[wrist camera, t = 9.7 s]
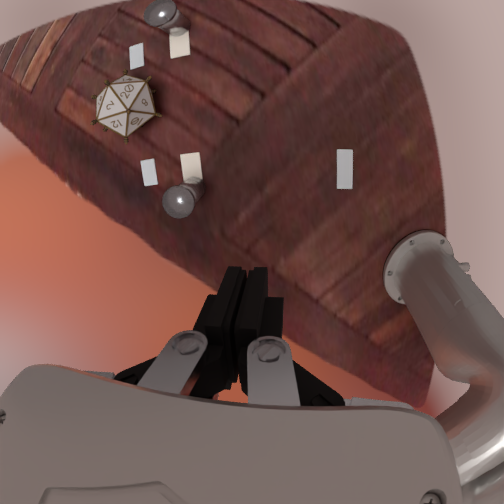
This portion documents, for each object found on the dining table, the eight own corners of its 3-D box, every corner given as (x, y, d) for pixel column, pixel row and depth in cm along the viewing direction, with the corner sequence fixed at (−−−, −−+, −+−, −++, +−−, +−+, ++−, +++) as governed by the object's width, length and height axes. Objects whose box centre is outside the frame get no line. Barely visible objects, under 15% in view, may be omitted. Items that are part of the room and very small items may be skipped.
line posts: (191, 12, 24) (174, -6, 18) (209, 199, 35) (196, 217, 30) (165, 19, 24) (143, 4, 18) (183, 201, 36) (165, 219, 30)
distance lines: (342, 22, 23) (343, 21, 23) (352, 188, 33) (352, 188, 33) (129, 47, 26) (129, 47, 26) (147, 199, 36) (147, 199, 36)
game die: (145, 95, 33) (113, 48, 23) (186, 111, 31) (157, 56, 21) (104, 143, 32) (61, 104, 22) (140, 166, 30) (94, 121, 20)
